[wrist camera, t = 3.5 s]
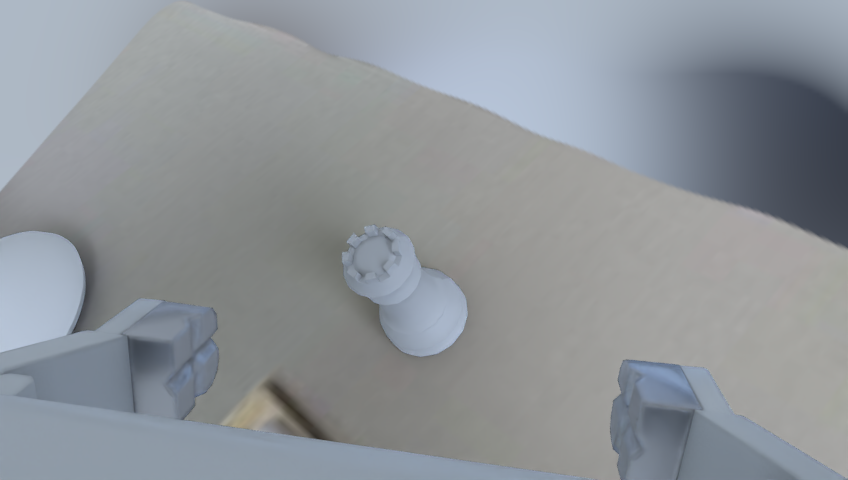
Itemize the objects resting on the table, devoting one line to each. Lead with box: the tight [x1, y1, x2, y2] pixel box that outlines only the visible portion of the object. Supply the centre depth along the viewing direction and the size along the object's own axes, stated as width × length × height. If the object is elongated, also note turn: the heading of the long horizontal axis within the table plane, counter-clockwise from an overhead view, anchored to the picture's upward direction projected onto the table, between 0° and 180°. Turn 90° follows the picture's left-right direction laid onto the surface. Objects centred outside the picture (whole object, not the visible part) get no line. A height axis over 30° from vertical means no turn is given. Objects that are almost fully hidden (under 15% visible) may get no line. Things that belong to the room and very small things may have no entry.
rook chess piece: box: [342, 224, 468, 357], centre depth 29 cm, size 4×4×8 cm
